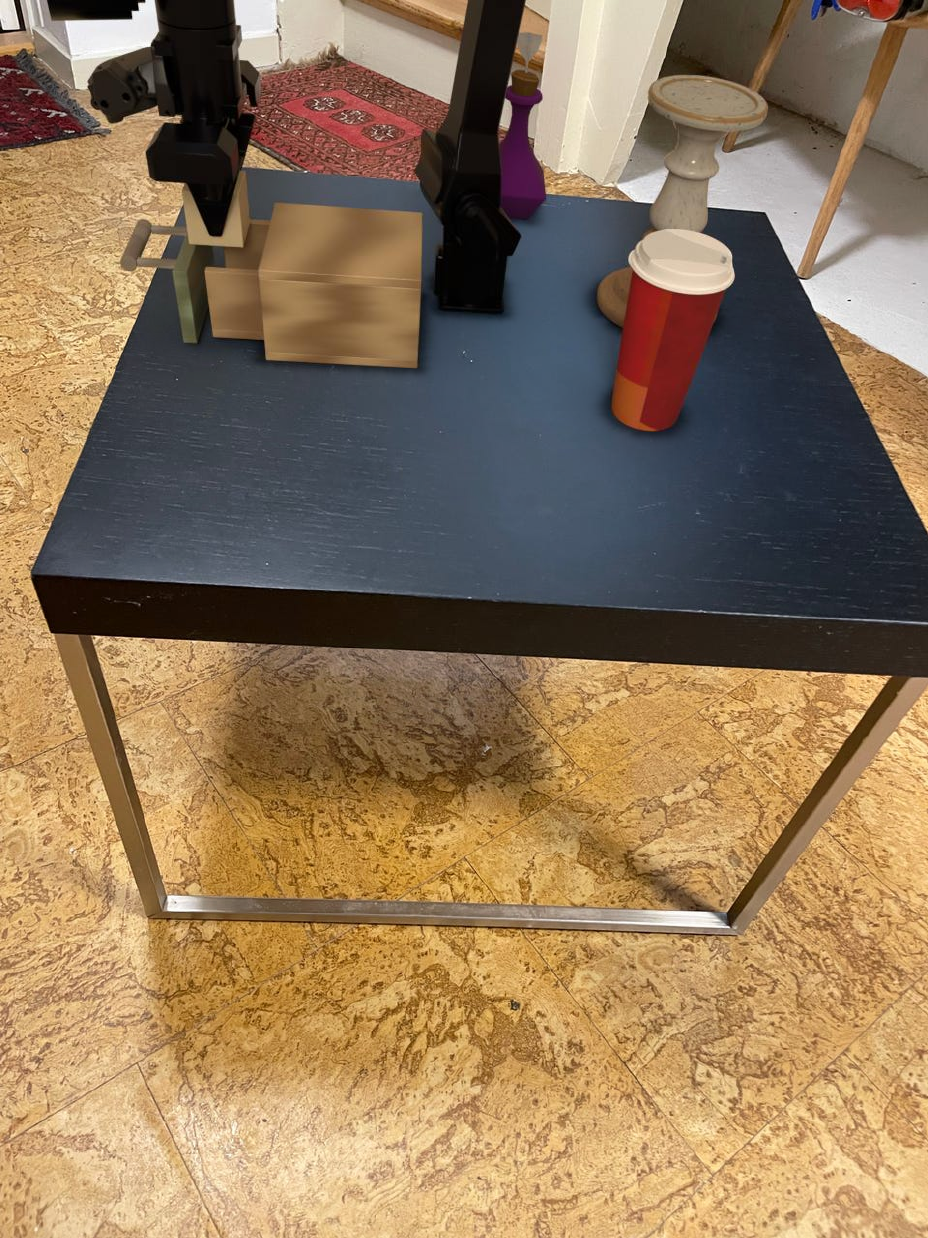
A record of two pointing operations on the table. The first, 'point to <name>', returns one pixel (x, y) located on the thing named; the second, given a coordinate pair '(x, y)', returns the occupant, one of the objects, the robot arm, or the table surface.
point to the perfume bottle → (522, 140)
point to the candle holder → (687, 160)
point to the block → (234, 224)
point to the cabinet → (342, 285)
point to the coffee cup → (667, 323)
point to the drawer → (209, 281)
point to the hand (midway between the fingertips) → (220, 221)
